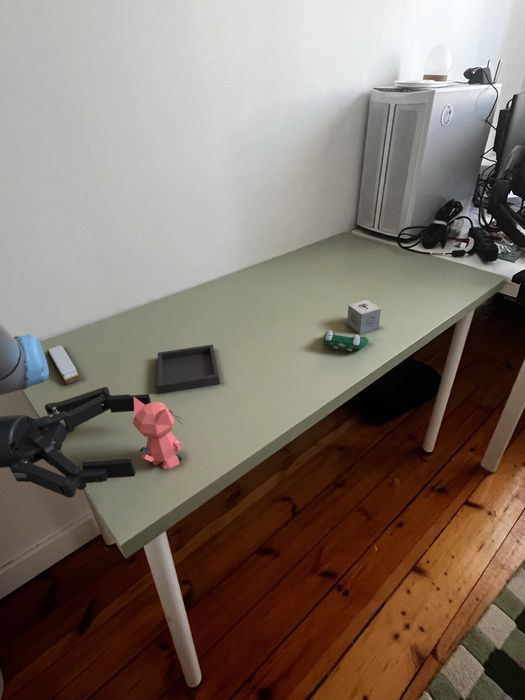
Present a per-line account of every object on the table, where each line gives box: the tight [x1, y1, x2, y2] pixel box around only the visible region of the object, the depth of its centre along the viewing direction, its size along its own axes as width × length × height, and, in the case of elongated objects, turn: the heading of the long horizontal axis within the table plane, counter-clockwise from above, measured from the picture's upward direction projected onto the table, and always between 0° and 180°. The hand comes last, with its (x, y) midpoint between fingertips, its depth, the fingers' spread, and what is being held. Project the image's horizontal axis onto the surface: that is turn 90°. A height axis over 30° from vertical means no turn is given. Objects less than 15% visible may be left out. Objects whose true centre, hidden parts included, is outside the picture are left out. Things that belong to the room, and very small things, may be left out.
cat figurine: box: [132, 397, 184, 470], centre depth 64 cm, size 7×7×12 cm
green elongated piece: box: [323, 330, 369, 352], centre depth 91 cm, size 9×4×6 cm
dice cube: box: [346, 299, 382, 335], centre depth 97 cm, size 5×5×5 cm
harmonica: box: [46, 344, 81, 385], centre depth 91 cm, size 15×3×2 cm, turn 36°
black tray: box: [156, 344, 221, 394], centre depth 87 cm, size 12×12×2 cm
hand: (142, 431), depth 64 cm, fingers open, 13 cm apart
